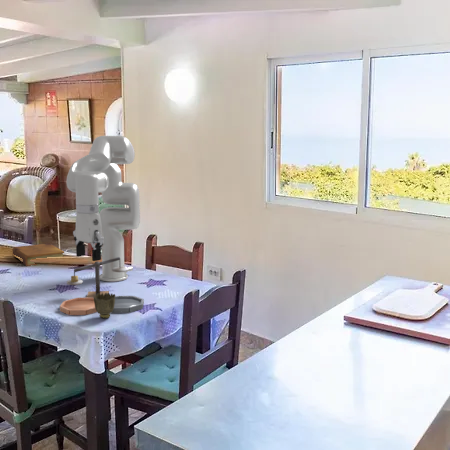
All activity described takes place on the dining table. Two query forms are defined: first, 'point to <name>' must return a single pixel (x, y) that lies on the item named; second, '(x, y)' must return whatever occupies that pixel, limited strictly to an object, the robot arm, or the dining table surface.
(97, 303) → the cup
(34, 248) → the diary
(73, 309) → the dish terracotta
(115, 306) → the dish slate
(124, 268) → the balance
